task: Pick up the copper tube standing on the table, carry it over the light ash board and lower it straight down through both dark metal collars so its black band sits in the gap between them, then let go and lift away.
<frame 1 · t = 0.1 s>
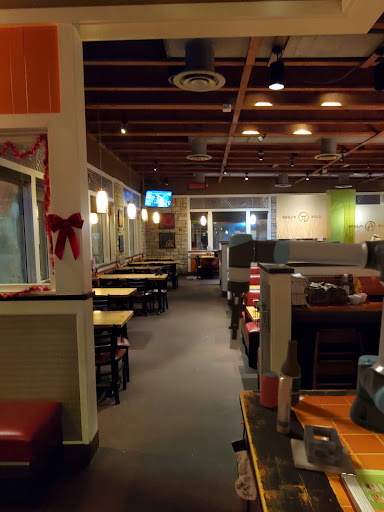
hand: (235, 342, 117), 28 cm above the table, tool pointing down, fingers open, 13 cm apart
beer bottle: (288, 401, 136), on the table
beer can: (268, 404, 133), on the table
collar stand: (321, 458, 102), on the table
copper tube: (282, 430, 115), on the table
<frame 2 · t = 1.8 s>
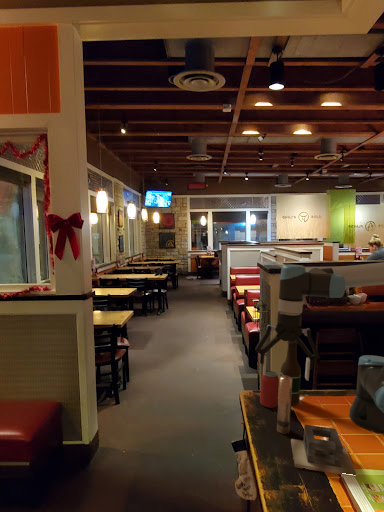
hand: (285, 376, 114), 18 cm above the table, tool pointing down, fingers open, 13 cm apart
nothing on the table moved.
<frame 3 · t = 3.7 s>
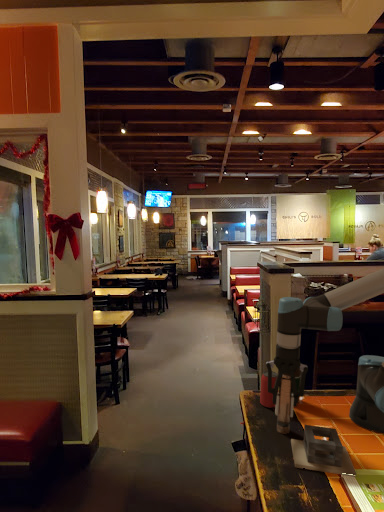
hand: (283, 414, 115), 6 cm above the table, tool pointing down, fingers closed on copper tube, 4 cm apart
copper tube: (282, 430, 115), on the table, touching gripper
everything else where it was.
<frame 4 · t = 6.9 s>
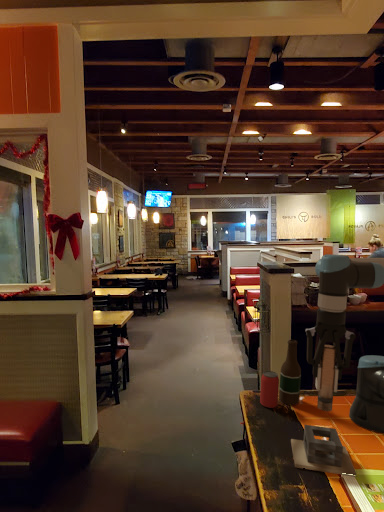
hand: (325, 388, 100), 21 cm above the table, tool pointing down, fingers closed on copper tube, 4 cm apart
copper tube: (324, 407, 101), point 15 cm above the table, touching gripper
everything else where it was.
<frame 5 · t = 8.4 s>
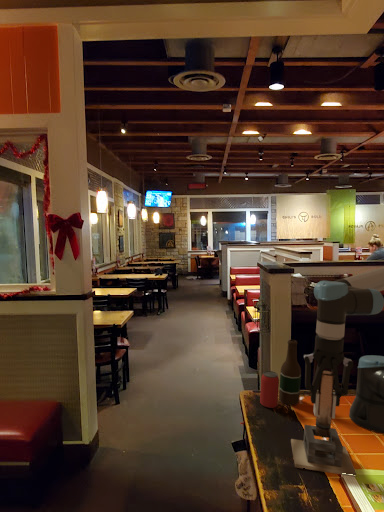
hand: (323, 414, 101), 13 cm above the table, tool pointing down, fingers closed on copper tube, 4 cm apart
copper tube: (322, 433, 101), point 8 cm above the table, touching gripper
everything else where it was.
when the fingers open (10 cm above the table, at t = 10.0 s): copper tube drops 3 cm, resting on collar stand.
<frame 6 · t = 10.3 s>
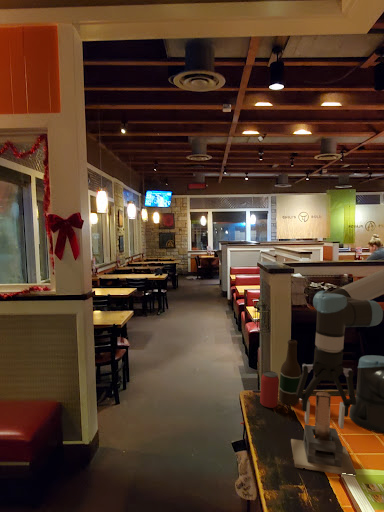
hand: (323, 423, 101), 10 cm above the table, tool pointing down, fingers open, 9 cm apart
copper tube: (321, 454, 102), point 1 cm above the table, touching collar stand
everything else where it was.
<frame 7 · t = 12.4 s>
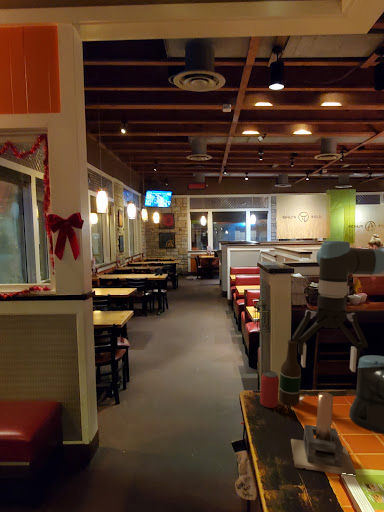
hand: (327, 368, 100), 27 cm above the table, tool pointing down, fingers open, 13 cm apart
nothing on the table moved.
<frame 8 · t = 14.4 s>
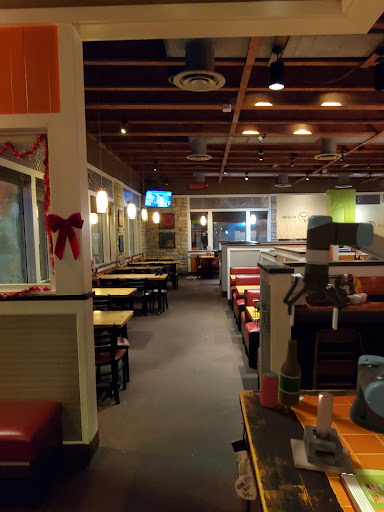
hand: (312, 326, 115), 35 cm above the table, tool pointing down, fingers open, 13 cm apart
nothing on the table moved.
at the end: copper tube 0.1 cm off-centre on the collar stand, point 1.0 cm above the collar stand's base; copper tube tilted 0°; the gripper is holding nothing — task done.
